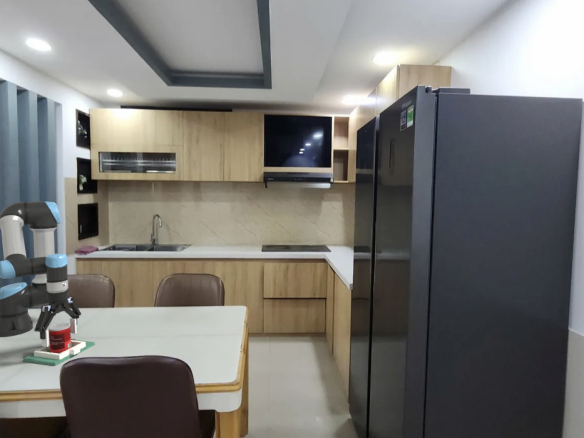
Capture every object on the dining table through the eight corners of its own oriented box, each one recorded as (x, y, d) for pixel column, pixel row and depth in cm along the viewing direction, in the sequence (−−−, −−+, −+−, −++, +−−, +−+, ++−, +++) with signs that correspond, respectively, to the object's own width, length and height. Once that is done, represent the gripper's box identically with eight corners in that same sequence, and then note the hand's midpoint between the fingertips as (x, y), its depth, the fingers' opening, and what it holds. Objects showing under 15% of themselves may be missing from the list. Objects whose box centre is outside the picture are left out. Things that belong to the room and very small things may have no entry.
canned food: (67, 345, 153) (66, 321, 153) (74, 350, 148) (73, 325, 148) (47, 351, 147) (45, 326, 147) (53, 357, 142) (52, 331, 142)
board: (23, 361, 141) (23, 353, 141) (66, 341, 161) (65, 334, 160) (58, 366, 137) (57, 358, 137) (97, 345, 157) (97, 338, 156)
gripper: (36, 300, 133) (39, 353, 135) (88, 283, 157) (90, 329, 159) (21, 298, 135) (24, 351, 136) (75, 282, 159) (77, 327, 161)
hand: (60, 339), depth 148 cm, fingers open, 13 cm apart
